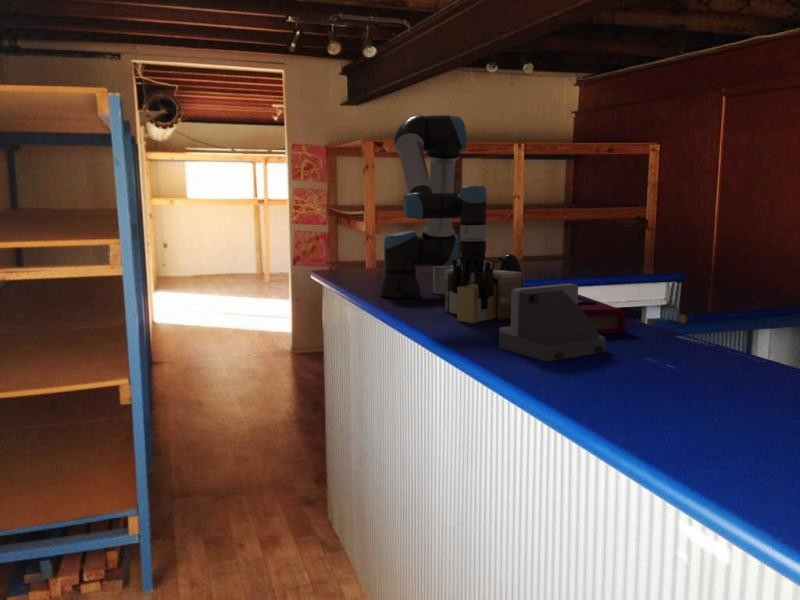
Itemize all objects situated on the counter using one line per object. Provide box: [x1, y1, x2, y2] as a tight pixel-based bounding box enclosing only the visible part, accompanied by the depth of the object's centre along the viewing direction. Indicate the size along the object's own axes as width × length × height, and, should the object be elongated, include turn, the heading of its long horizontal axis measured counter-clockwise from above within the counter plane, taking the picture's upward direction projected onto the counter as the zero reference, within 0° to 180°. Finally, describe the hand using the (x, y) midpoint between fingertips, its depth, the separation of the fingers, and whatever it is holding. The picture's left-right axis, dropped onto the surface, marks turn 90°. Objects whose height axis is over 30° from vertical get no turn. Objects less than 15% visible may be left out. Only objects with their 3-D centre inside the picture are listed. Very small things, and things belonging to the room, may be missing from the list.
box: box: [448, 291, 457, 315], centre depth 215 cm, size 6×8×7 cm
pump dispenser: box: [497, 253, 525, 288], centre depth 249 cm, size 10×10×15 cm
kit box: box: [456, 281, 499, 324], centre depth 205 cm, size 6×18×10 cm, turn 136°
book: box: [578, 294, 627, 335], centre depth 193 cm, size 21×28×8 cm
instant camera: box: [498, 283, 606, 362], centre depth 162 cm, size 21×21×15 cm
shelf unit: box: [444, 268, 523, 320], centre depth 213 cm, size 22×10×13 cm, turn 46°
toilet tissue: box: [432, 264, 463, 295], centre depth 259 cm, size 11×12×10 cm
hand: (472, 318), depth 202 cm, fingers closed on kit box, 6 cm apart
